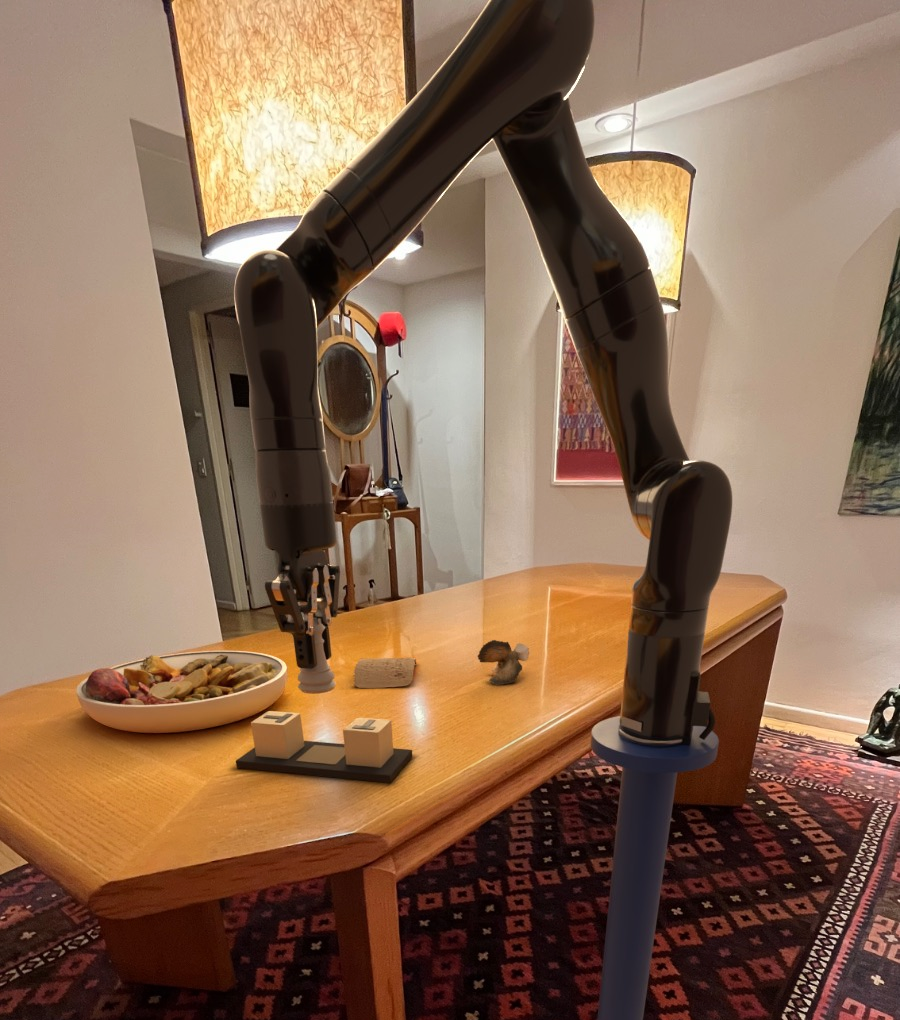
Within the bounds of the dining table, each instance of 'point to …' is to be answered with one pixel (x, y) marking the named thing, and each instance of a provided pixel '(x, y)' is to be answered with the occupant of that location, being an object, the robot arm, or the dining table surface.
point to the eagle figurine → (503, 660)
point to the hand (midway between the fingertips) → (314, 662)
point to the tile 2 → (368, 742)
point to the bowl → (183, 690)
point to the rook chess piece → (317, 667)
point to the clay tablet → (383, 672)
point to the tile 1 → (277, 734)
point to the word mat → (327, 763)
